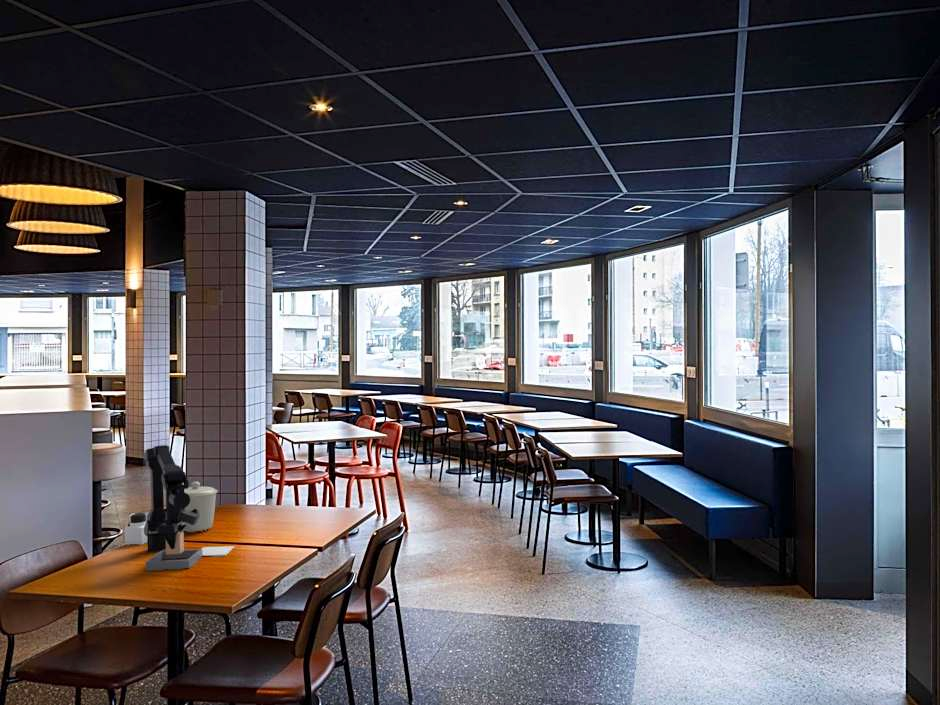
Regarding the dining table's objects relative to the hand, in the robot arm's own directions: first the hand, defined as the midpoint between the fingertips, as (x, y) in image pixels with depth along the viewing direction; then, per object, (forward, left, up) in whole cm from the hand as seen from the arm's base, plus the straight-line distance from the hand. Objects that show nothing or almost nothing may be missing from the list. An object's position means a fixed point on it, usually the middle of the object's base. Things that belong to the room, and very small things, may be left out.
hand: (174, 547), depth 263 cm
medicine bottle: (-26, +33, -6) cm, 43 cm away
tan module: (0, 0, -2) cm, 2 cm away
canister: (-9, +53, -6) cm, 54 cm away
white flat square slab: (+10, +14, -6) cm, 18 cm away
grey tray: (0, 0, -6) cm, 6 cm away
